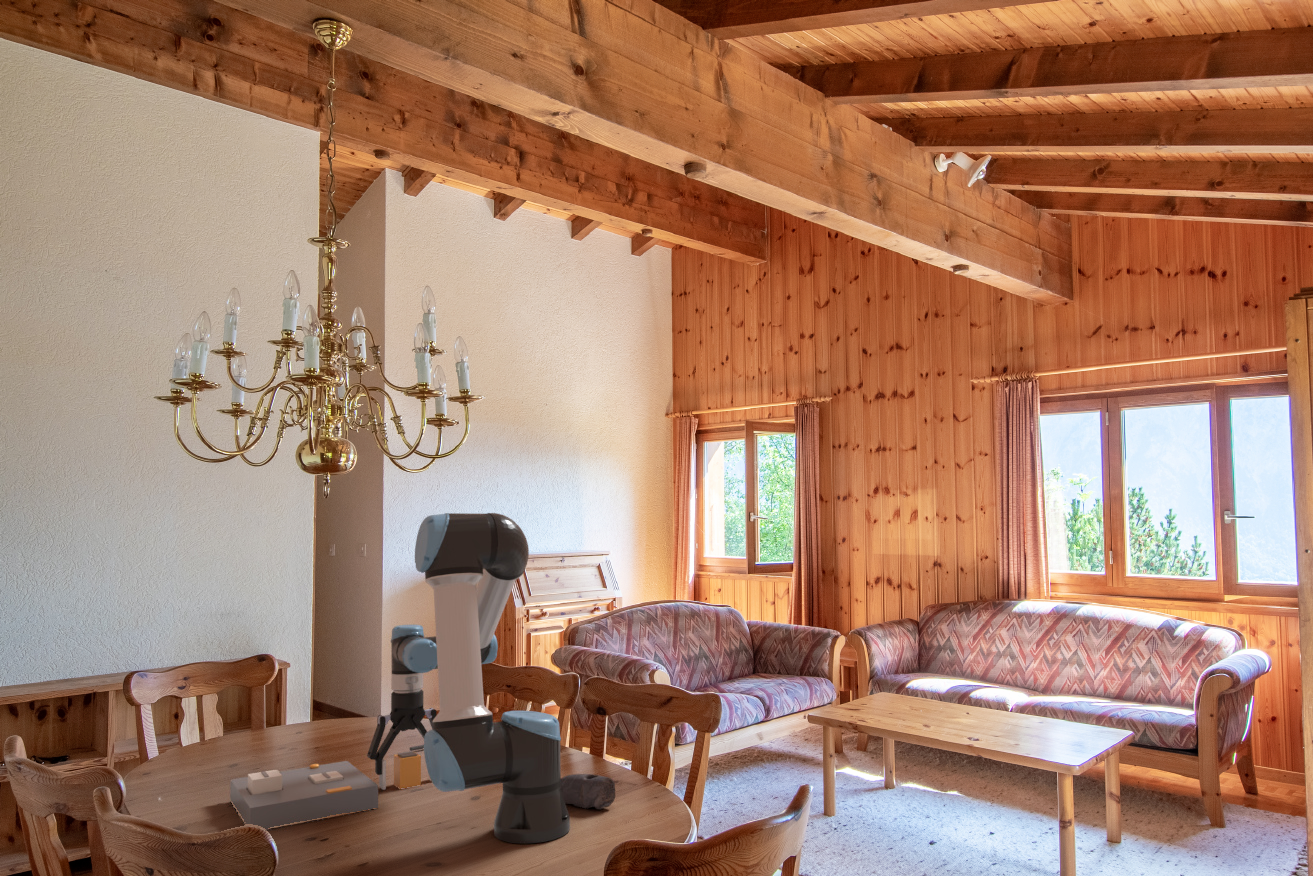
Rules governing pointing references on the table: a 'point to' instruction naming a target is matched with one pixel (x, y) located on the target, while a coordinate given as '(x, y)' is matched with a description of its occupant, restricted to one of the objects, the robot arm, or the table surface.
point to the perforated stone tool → (588, 790)
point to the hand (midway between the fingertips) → (407, 783)
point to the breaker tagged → (325, 777)
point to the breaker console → (305, 796)
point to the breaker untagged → (264, 782)
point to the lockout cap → (407, 769)
